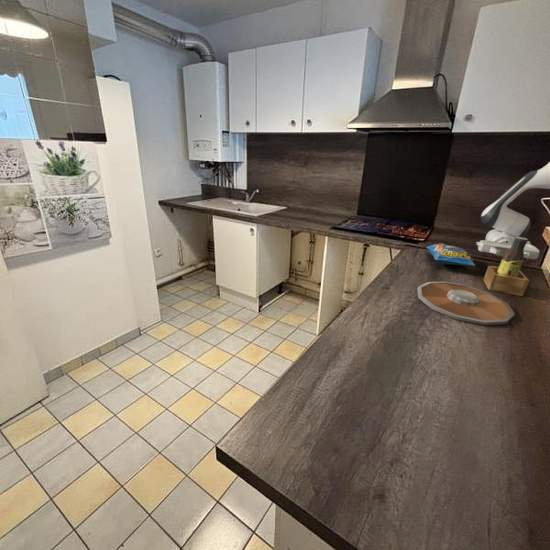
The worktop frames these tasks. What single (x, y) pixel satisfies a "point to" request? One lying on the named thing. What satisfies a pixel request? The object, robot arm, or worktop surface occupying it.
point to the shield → (465, 303)
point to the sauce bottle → (513, 258)
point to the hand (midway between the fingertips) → (512, 255)
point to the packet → (450, 255)
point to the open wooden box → (505, 282)
